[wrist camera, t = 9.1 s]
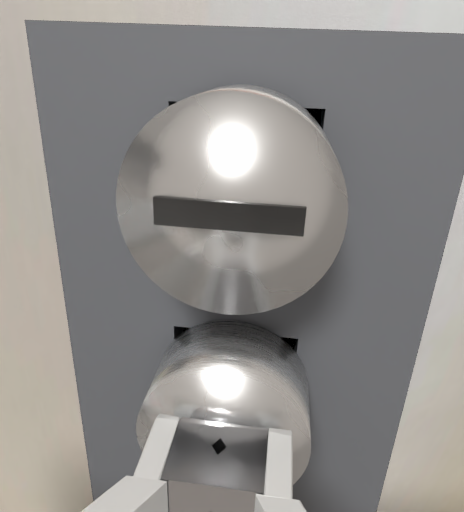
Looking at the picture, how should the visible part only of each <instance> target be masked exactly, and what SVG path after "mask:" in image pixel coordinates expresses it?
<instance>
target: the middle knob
mask: <svg viewBox="0 0 464 512" xmlns="http://www.w3.org/2000/svg"><path fill="white" fill-rule="evenodd" d="M159 414H165V415H171V416H178V417H187V418H194V419H200V420H207V421H213V422H220V423H231V424H240V425H249V426H257V427H266V428H268V429H269V428H274V429H283V430H291V431H292V434H293V484H295V483H296V482H297V480H298V479H299V478H300V477H301V476H302V474H303V473H304V471H305V469H306V467H307V465H308V463H309V459H310V455H311V433H310V412H309V391H308V378H307V374H306V370H305V367H304V365H303V363H302V361H301V359H300V358H299V356H298V354H297V353H296V352H295V351H294V349H293V348H292V347H291V346H290V345H289V344H288V343H287V342H286V341H284V340H283V339H282V337H279V336H278V335H276V334H275V333H273V332H271V331H269V330H267V329H265V328H263V327H260V326H258V325H255V324H251V323H247V322H242V321H235V320H219V321H211V322H206V323H203V324H199V325H196V326H194V327H192V328H190V329H188V330H186V331H185V332H183V333H182V334H180V335H179V336H178V337H177V338H176V339H174V341H173V342H172V343H171V344H170V345H169V347H168V348H167V350H166V352H165V353H164V356H163V358H162V360H161V363H160V365H159V367H158V369H157V372H156V374H155V376H154V379H153V381H152V383H151V385H150V388H149V390H148V392H147V395H146V397H145V399H144V402H143V404H142V406H141V408H140V411H139V414H138V417H137V423H136V434H137V440H138V443H139V446H140V449H141V451H142V452H143V449H144V447H145V444H146V441H147V439H148V436H149V434H150V431H151V429H152V426H153V423H154V421H155V419H156V417H157V416H158V415H159Z"/></svg>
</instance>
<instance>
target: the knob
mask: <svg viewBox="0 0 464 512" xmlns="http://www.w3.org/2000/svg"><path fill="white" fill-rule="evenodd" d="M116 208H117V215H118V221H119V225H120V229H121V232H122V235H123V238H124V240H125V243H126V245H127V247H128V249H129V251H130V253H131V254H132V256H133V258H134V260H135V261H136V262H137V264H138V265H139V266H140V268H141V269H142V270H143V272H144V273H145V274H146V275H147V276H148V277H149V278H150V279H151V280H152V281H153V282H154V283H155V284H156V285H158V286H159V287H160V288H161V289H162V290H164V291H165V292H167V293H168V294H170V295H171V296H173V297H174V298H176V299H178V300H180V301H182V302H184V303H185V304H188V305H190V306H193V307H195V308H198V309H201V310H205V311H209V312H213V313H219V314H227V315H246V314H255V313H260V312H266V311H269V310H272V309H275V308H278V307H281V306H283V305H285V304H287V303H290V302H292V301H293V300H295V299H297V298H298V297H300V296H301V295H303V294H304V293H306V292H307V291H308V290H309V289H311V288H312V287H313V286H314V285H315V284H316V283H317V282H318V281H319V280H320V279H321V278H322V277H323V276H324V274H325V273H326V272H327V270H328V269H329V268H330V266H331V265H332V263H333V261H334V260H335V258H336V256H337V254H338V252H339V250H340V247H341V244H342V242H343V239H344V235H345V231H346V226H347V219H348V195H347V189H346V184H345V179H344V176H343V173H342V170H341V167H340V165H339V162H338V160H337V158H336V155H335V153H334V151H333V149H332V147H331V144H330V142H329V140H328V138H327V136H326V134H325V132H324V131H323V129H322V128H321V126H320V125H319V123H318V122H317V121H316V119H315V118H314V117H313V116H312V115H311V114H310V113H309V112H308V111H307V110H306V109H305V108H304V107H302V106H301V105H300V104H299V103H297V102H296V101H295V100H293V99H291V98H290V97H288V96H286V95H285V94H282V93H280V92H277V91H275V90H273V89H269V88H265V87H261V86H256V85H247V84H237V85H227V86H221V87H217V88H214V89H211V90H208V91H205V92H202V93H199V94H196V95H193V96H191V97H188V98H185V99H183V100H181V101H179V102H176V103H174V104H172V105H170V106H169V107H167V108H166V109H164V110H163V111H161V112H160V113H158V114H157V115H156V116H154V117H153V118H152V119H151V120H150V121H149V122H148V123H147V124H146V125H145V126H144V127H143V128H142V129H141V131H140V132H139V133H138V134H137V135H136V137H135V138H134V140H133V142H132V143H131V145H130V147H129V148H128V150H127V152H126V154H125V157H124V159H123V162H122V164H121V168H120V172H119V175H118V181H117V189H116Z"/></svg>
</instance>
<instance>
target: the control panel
mask: <svg viewBox="0 0 464 512" xmlns="http://www.w3.org/2000/svg"><path fill="white" fill-rule="evenodd" d="M25 25H26V32H27V39H28V46H29V53H30V60H31V67H32V74H33V81H34V88H35V95H36V102H37V109H38V116H39V123H40V130H41V137H42V144H43V151H44V158H45V165H46V172H47V179H48V186H49V193H50V200H51V207H52V214H53V221H54V228H55V235H56V242H57V249H58V256H59V263H60V270H61V277H62V284H63V291H64V298H65V305H66V312H67V319H68V326H69V333H70V340H71V347H72V354H73V361H74V368H75V375H76V382H77V389H78V396H79V403H80V410H81V417H82V424H83V431H84V438H85V445H86V452H87V459H88V466H89V473H90V480H91V487H92V495H93V501H95V500H96V499H97V498H98V497H100V496H101V495H102V494H103V493H105V492H106V491H107V490H109V489H110V488H111V487H112V486H114V485H115V484H116V483H117V482H119V481H120V480H121V479H122V478H124V477H125V476H133V475H134V472H135V470H136V467H137V465H138V462H139V459H140V457H141V454H142V451H141V449H140V446H139V443H138V440H137V434H136V423H137V417H138V414H139V411H140V408H141V406H142V404H143V402H144V399H145V397H146V395H147V392H148V390H149V388H150V385H151V383H152V381H153V379H154V376H155V374H156V372H157V369H158V367H159V365H160V363H161V360H162V358H163V356H164V353H165V352H166V350H167V348H168V347H169V345H170V344H171V343H172V342H173V341H174V339H176V338H177V337H178V336H179V335H180V334H182V333H183V327H188V328H192V327H194V326H196V325H199V324H203V323H206V322H211V321H219V320H235V321H242V322H247V323H251V324H255V325H258V326H260V327H263V328H265V329H267V330H269V331H271V332H273V333H275V334H276V335H278V336H279V337H286V338H296V339H295V348H294V351H295V352H296V353H297V354H298V356H299V358H300V359H301V361H302V363H303V365H304V367H305V370H306V374H307V378H308V391H309V412H310V433H311V455H310V459H309V463H308V465H307V467H306V469H305V471H304V473H303V474H302V476H301V477H300V478H299V479H298V480H297V482H296V483H295V484H293V485H292V499H296V500H300V501H301V503H302V505H303V506H304V508H305V509H306V511H307V512H376V511H377V507H378V503H379V500H380V496H381V492H382V488H383V484H384V480H385V476H386V472H387V469H388V465H389V461H390V457H391V453H392V449H393V445H394V442H395V438H396V434H397V430H398V426H399V422H400V418H401V414H402V411H403V407H404V403H405V399H406V395H407V391H408V387H409V384H410V380H411V376H412V372H413V368H414V364H415V360H416V356H417V353H418V349H419V345H420V341H421V337H422V333H423V329H424V326H425V322H426V318H427V314H428V310H429V306H430V302H431V299H432V295H433V291H434V287H435V283H436V279H437V275H438V271H439V268H440V264H441V260H442V256H443V252H444V248H445V244H446V241H447V237H448V233H449V229H450V225H451V221H452V217H453V213H454V210H455V206H456V202H457V198H458V194H459V190H460V186H461V183H462V179H463V175H464V34H456V33H424V32H392V31H360V30H329V29H297V28H265V27H233V26H201V25H169V24H137V23H105V22H73V21H41V20H25ZM237 84H247V85H256V86H261V87H265V88H269V89H273V90H275V91H277V92H280V93H282V94H285V95H286V96H288V97H290V98H291V99H293V100H295V101H296V102H297V103H299V104H300V105H301V106H302V107H304V108H317V109H322V113H321V122H320V126H321V128H322V129H323V131H324V132H325V134H326V136H327V138H328V140H329V142H330V144H331V147H332V149H333V151H334V153H335V155H336V158H337V160H338V162H339V165H340V167H341V170H342V173H343V176H344V179H345V184H346V189H347V195H348V219H347V226H346V231H345V235H344V239H343V242H342V244H341V247H340V250H339V252H338V254H337V256H336V258H335V260H334V261H333V263H332V265H331V266H330V268H329V269H328V270H327V272H326V273H325V274H324V276H323V277H322V278H321V279H320V280H319V281H318V282H317V283H316V284H315V285H314V286H313V287H312V288H311V289H309V290H308V291H307V292H306V293H304V294H303V295H301V296H300V297H298V298H297V299H295V300H293V301H292V302H290V303H287V304H285V305H283V306H281V307H278V308H275V309H272V310H269V311H266V312H260V313H255V314H246V315H227V314H219V313H213V312H209V311H205V310H201V309H198V308H195V307H193V306H190V305H188V304H185V303H184V302H182V301H180V300H178V299H176V298H174V297H173V296H171V295H170V294H168V293H167V292H165V291H164V290H162V289H161V288H160V287H159V286H158V285H156V284H155V283H154V282H153V281H152V280H151V279H150V278H149V277H148V276H147V275H146V274H145V273H144V272H143V270H142V269H141V268H140V266H139V265H138V264H137V262H136V261H135V260H134V258H133V256H132V254H131V253H130V251H129V249H128V247H127V245H126V243H125V240H124V238H123V235H122V232H121V229H120V225H119V221H118V215H117V208H116V189H117V181H118V175H119V172H120V168H121V164H122V162H123V159H124V157H125V154H126V152H127V150H128V148H129V147H130V145H131V143H132V142H133V140H134V138H135V137H136V135H137V134H138V133H139V132H140V131H141V129H142V128H143V127H144V126H145V125H146V124H147V123H148V122H149V121H150V120H151V119H152V118H153V117H154V116H156V115H157V114H158V113H160V112H161V111H163V110H164V109H166V108H167V107H169V106H170V105H172V104H174V103H176V102H179V101H181V100H183V99H185V98H188V97H191V96H193V95H196V94H199V93H202V92H205V91H208V90H211V89H214V88H217V87H221V86H227V85H237Z"/></svg>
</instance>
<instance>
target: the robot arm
mask: <svg viewBox="0 0 464 512" xmlns="http://www.w3.org/2000/svg"><path fill="white" fill-rule="evenodd" d="M292 485H293V434H292V431H291V430H283V429H274V428H269V429H268V428H266V427H257V426H249V425H240V424H231V423H220V422H213V421H207V420H200V419H194V418H187V417H178V416H171V415H165V414H159V415H158V416H157V417H156V419H155V421H154V423H153V426H152V429H151V431H150V434H149V436H148V439H147V441H146V444H145V447H144V449H143V452H142V454H141V457H140V459H139V462H138V465H137V467H136V470H135V472H134V475H133V476H125V477H124V478H122V479H121V480H120V481H119V482H117V483H116V484H115V485H114V486H112V487H111V488H110V489H109V490H107V491H106V492H105V493H103V494H102V495H101V496H100V497H98V498H97V499H96V500H95V501H93V502H92V503H91V504H90V505H88V506H87V507H86V508H85V509H83V510H82V511H81V512H307V511H306V509H305V508H304V506H303V505H302V503H301V501H300V500H296V499H292Z"/></svg>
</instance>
